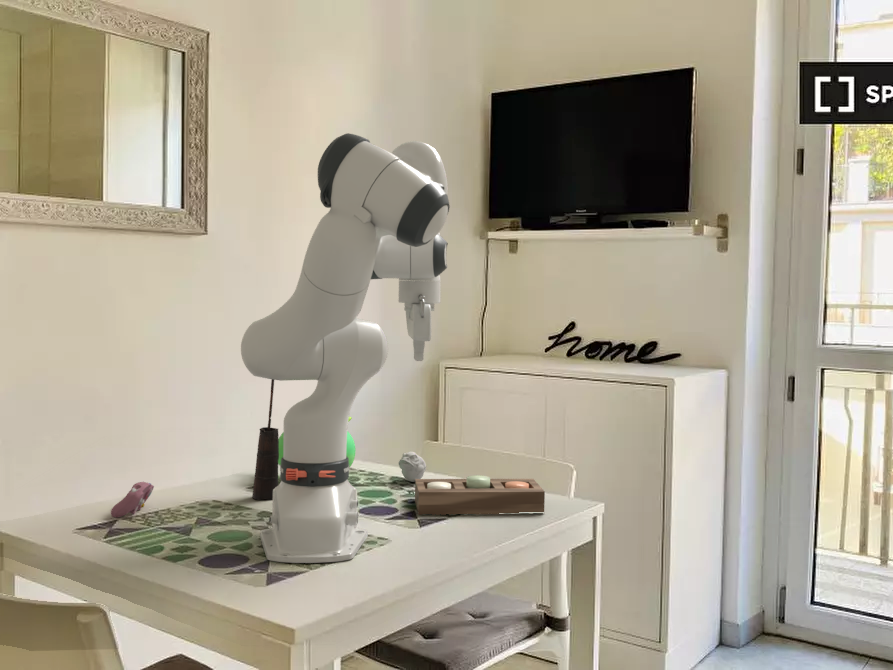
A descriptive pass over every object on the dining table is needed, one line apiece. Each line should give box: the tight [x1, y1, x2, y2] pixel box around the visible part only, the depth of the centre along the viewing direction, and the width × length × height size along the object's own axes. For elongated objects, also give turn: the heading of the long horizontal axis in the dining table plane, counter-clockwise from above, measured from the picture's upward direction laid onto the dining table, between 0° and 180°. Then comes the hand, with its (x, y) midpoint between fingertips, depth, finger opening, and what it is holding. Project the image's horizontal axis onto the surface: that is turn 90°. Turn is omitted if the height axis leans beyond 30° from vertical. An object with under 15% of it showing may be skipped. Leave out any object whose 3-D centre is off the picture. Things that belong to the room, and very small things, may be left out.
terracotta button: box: [505, 481, 529, 488], centre depth 184 cm, size 5×5×2 cm
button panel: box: [414, 478, 546, 516], centre depth 183 cm, size 12×25×4 cm, turn 96°
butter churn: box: [252, 379, 280, 501], centre depth 186 cm, size 9×10×28 cm
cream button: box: [427, 482, 451, 489], centre depth 182 cm, size 5×5×2 cm
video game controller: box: [110, 481, 155, 518], centre depth 175 cm, size 10×5×7 cm, turn 1°
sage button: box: [466, 474, 491, 489], centre depth 183 cm, size 5×5×2 cm
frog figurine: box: [398, 451, 427, 483], centre depth 206 cm, size 6×7×7 cm
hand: (418, 360), depth 190 cm, fingers closed
